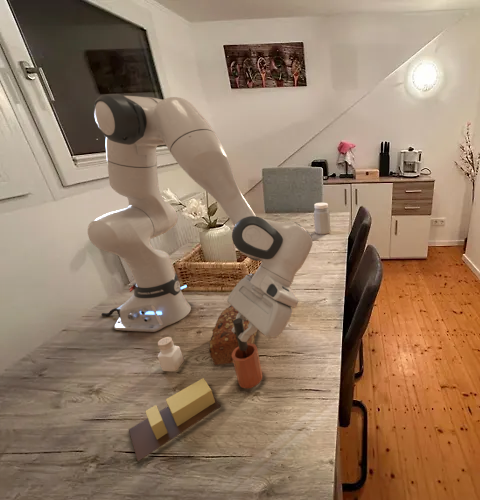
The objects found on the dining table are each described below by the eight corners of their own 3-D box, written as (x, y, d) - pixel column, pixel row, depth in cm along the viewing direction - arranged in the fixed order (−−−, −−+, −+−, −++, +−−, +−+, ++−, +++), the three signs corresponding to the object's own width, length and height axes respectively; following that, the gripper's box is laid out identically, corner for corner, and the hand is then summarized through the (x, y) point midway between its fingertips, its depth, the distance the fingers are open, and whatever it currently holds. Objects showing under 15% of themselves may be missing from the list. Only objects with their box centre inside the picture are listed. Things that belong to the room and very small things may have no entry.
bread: (252, 364, 77) (246, 335, 73) (211, 369, 76) (202, 340, 72) (261, 322, 94) (256, 296, 90) (228, 325, 92) (222, 300, 89)
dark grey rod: (252, 375, 73) (239, 316, 65) (256, 380, 71) (244, 321, 64) (244, 379, 71) (231, 320, 64) (249, 385, 70) (235, 325, 63)
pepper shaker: (172, 362, 78) (162, 335, 74) (186, 362, 78) (176, 335, 74) (162, 374, 74) (152, 346, 71) (177, 374, 74) (167, 346, 71)
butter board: (207, 387, 70) (206, 383, 70) (222, 410, 64) (221, 406, 64) (130, 433, 60) (128, 429, 59) (139, 465, 54) (137, 461, 54)
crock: (236, 392, 69) (228, 361, 65) (242, 373, 74) (235, 344, 70) (260, 390, 69) (254, 359, 65) (264, 371, 74) (259, 342, 70)
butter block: (207, 389, 68) (203, 377, 67) (215, 402, 65) (211, 390, 63) (170, 411, 63) (165, 399, 61) (177, 426, 60) (172, 413, 58)
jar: (317, 229, 180) (315, 201, 173) (332, 229, 178) (330, 202, 171) (313, 234, 171) (310, 205, 164) (328, 235, 169) (327, 206, 162)
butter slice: (161, 417, 62) (156, 404, 60) (167, 432, 59) (162, 419, 57) (150, 423, 61) (145, 410, 59) (157, 439, 57) (151, 426, 56)
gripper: (239, 266, 72) (209, 314, 70) (284, 296, 59) (248, 356, 56) (258, 275, 77) (230, 321, 74) (303, 304, 63) (270, 361, 61)
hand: (238, 336), depth 65 cm, fingers closed on dark grey rod, 2 cm apart
